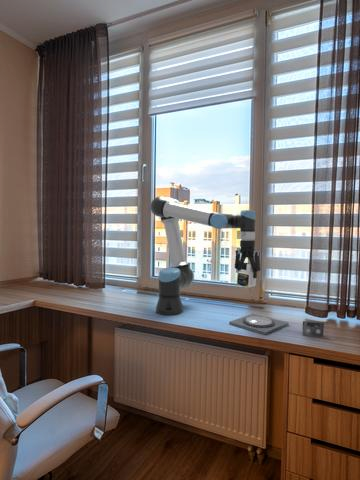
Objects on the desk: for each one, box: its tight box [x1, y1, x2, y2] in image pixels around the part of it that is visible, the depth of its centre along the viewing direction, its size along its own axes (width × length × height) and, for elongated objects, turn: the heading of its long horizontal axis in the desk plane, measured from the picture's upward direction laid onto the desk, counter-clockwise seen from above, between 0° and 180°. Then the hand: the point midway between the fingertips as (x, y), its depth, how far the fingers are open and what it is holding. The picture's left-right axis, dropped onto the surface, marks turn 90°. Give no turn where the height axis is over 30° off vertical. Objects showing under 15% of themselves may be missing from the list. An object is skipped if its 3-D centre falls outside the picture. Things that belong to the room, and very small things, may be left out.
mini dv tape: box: [301, 320, 325, 338], centre depth 135 cm, size 8×2×6 cm, turn 75°
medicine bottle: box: [236, 262, 257, 289], centre depth 164 cm, size 7×7×12 cm
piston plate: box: [228, 313, 289, 336], centre depth 149 cm, size 20×20×2 cm
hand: (246, 283), depth 164 cm, fingers closed on medicine bottle, 7 cm apart
